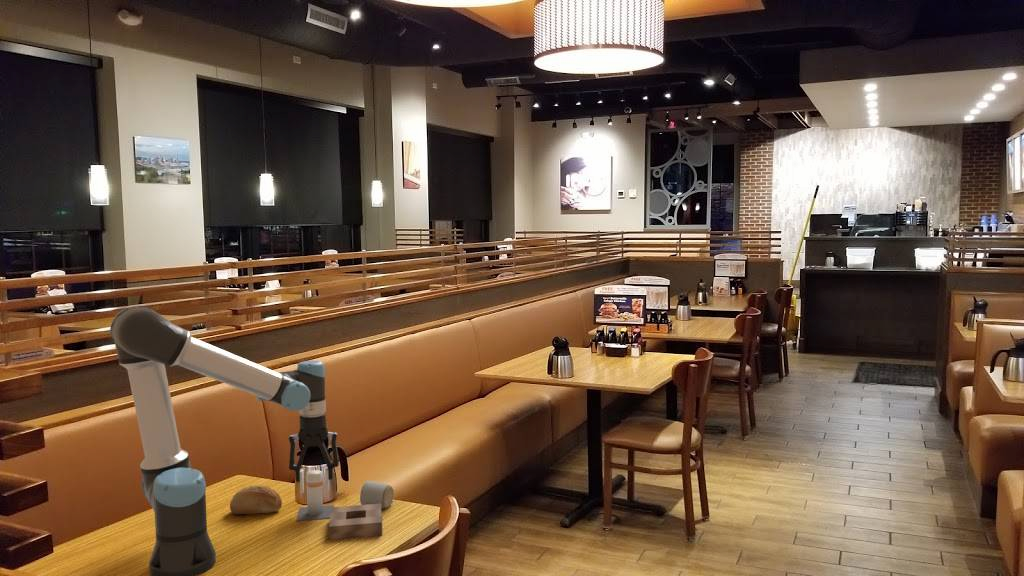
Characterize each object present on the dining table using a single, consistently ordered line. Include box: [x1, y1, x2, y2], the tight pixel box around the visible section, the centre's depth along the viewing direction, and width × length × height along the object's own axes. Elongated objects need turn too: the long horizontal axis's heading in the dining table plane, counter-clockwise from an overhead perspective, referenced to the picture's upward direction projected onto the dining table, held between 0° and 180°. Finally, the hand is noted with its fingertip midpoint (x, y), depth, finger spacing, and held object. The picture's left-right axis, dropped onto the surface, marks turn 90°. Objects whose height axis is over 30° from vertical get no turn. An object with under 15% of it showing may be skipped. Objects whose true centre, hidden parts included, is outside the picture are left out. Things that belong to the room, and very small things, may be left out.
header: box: [328, 504, 384, 541], centre depth 206 cm, size 14×14×4 cm
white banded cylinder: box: [306, 469, 324, 515], centre depth 217 cm, size 4×4×12 cm
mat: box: [295, 504, 335, 522], centre depth 217 cm, size 10×10×1 cm
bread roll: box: [229, 484, 283, 515], centre depth 219 cm, size 10×15×8 cm, turn 96°
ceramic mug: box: [359, 480, 395, 510], centre depth 224 cm, size 11×8×8 cm
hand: (314, 491), depth 217 cm, fingers open, 7 cm apart
